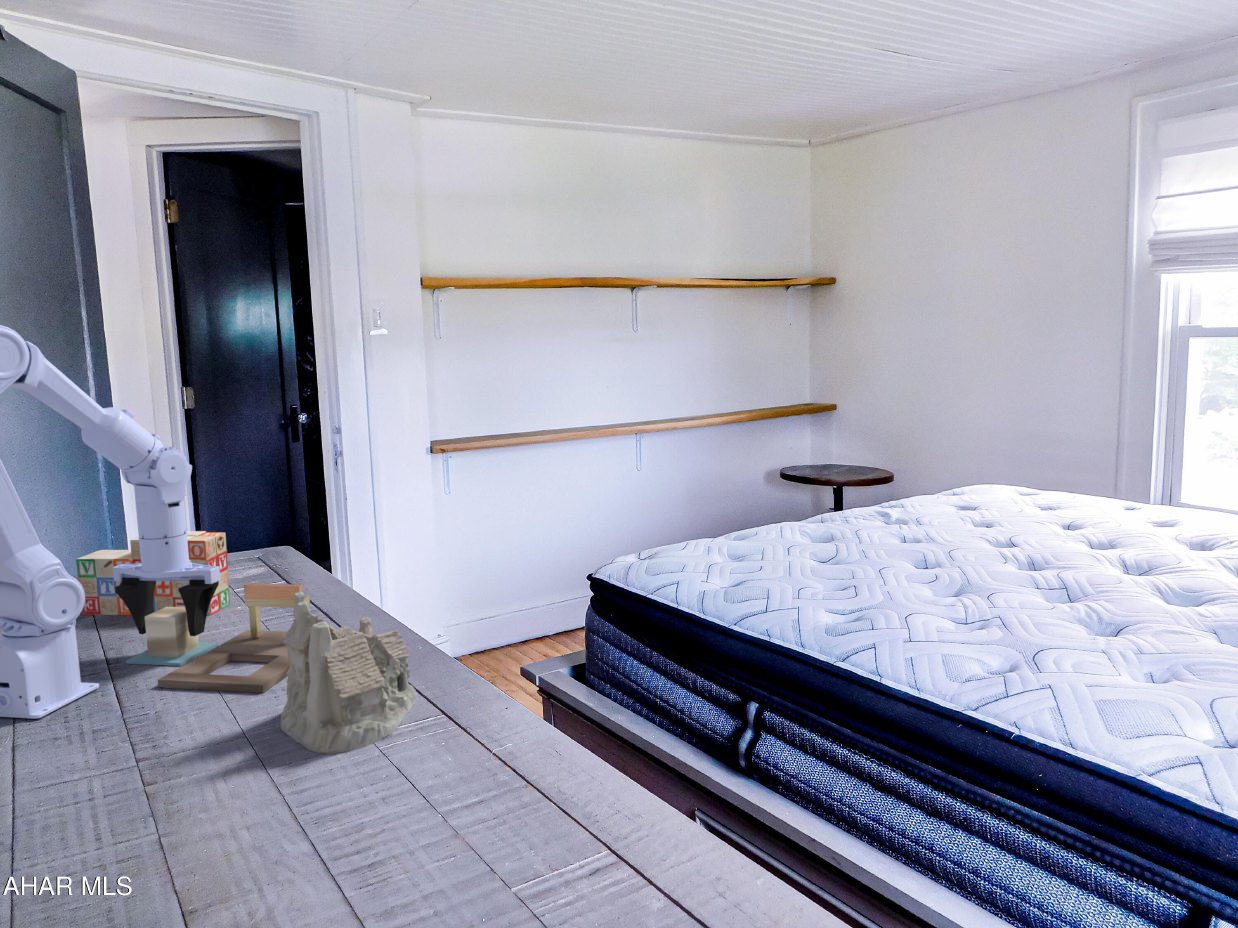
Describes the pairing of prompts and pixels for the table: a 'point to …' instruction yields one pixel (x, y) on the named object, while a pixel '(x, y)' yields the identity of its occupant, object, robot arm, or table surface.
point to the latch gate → (268, 600)
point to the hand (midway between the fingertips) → (171, 632)
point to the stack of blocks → (105, 601)
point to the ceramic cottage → (343, 683)
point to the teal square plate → (172, 661)
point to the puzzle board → (235, 649)
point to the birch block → (169, 633)
